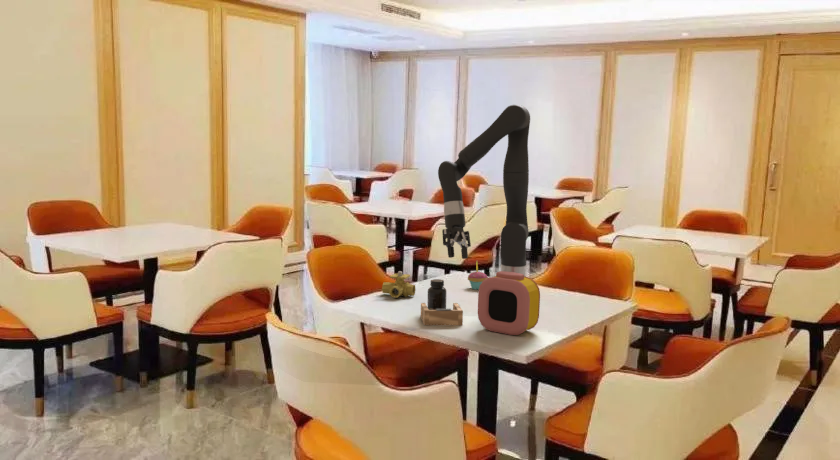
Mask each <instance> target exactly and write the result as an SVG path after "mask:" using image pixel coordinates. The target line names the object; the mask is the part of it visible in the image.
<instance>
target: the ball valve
mask: <svg viewBox="0 0 840 460" xmlns="http://www.w3.org/2000/svg"><path fill="white" fill-rule="evenodd" d="M410 277H411V274H408V273H406V274H405V273H404V274H403V271H401V270H399V271H398V272H397V273H395V272H394V273H393V274H391V275H390V276H389V278H390V279H396V280H394V281H395V282H389V281H387V282H386V281H383V283H382V287H381V292H382V294H389V295H390V296H391V297H392V298H399V297H405V298H408V297H410V296H411V297H414V296H415V295H416V284H413V283H410V282H407V281H406V282H405V280H407V279H408V278H410Z"/></svg>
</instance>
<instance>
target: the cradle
mask: <svg viewBox="0 0 840 460" xmlns="http://www.w3.org/2000/svg"><path fill="white" fill-rule="evenodd" d="M427 306H428V305H427V304H426V303H425V302H424V303H423V302H420V319H421V322H422V324H423V325H424V326H463V323H464V322H463V319H464V318H463V317H464V310H463V309H462V307H461V306H460V305H459V304H458V303H457V302H453V305H452V308H446V309H436V310H429V309H428V307H427Z"/></svg>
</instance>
